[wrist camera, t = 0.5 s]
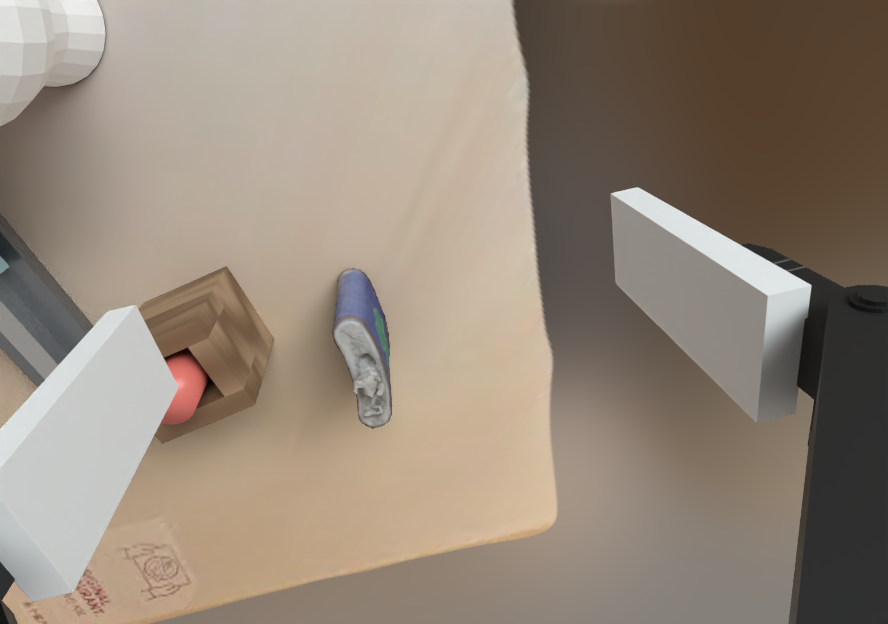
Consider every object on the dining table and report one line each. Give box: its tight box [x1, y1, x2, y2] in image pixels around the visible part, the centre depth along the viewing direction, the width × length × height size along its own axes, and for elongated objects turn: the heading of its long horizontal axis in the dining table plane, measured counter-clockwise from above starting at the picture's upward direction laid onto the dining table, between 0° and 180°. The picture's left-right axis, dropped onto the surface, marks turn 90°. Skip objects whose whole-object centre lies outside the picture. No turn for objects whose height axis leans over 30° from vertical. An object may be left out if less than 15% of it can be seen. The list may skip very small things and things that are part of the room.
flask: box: [333, 268, 392, 428], centre depth 41 cm, size 9×3×11 cm, turn 11°
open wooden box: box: [139, 266, 274, 443], centre depth 40 cm, size 7×8×9 cm
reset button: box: [161, 347, 210, 425], centre depth 36 cm, size 3×3×4 cm
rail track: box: [0, 214, 94, 387], centre depth 39 cm, size 22×6×4 cm, turn 22°
